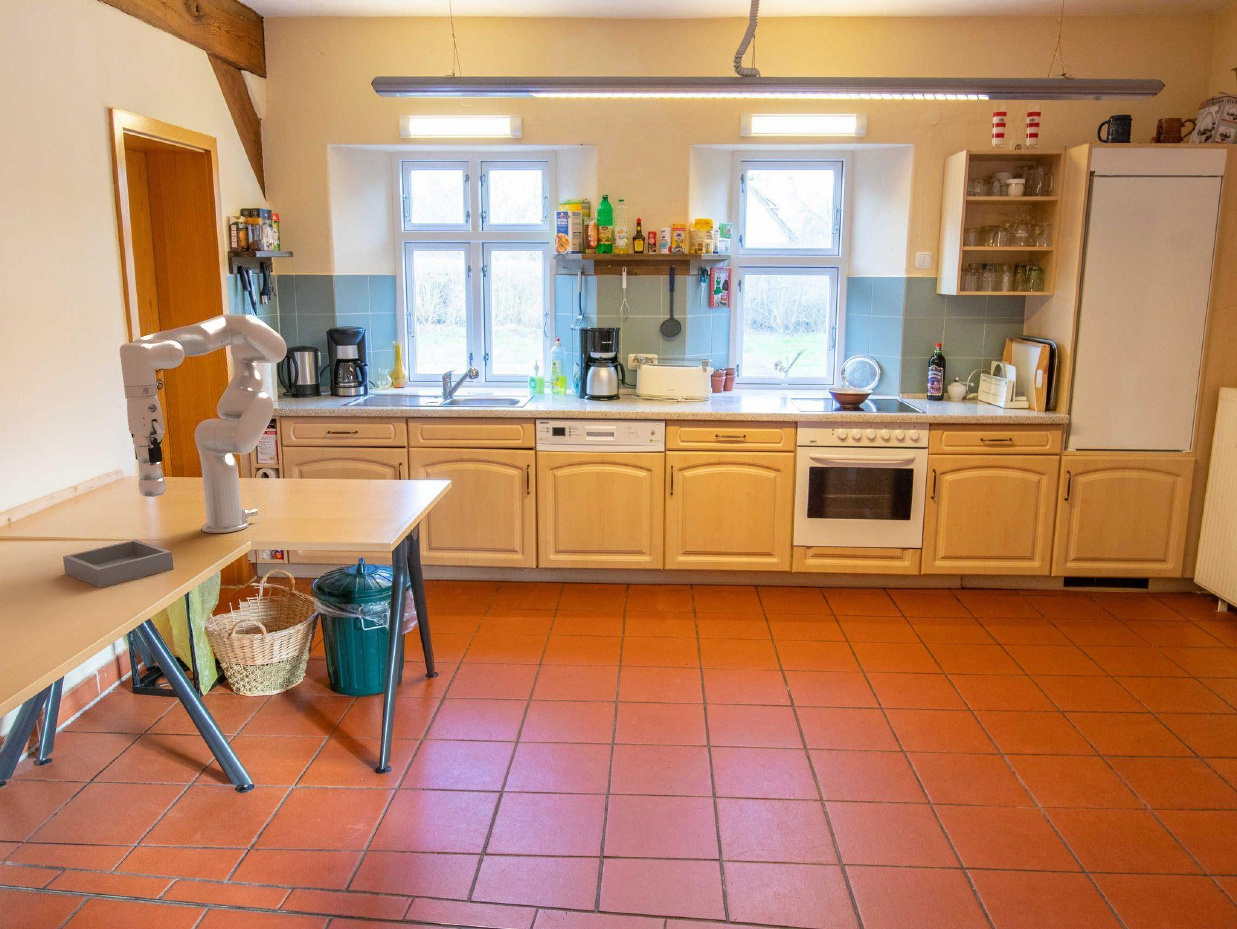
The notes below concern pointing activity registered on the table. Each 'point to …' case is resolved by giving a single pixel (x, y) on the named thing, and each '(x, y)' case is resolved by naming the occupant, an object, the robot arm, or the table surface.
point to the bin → (117, 563)
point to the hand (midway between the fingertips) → (149, 459)
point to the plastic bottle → (148, 470)
